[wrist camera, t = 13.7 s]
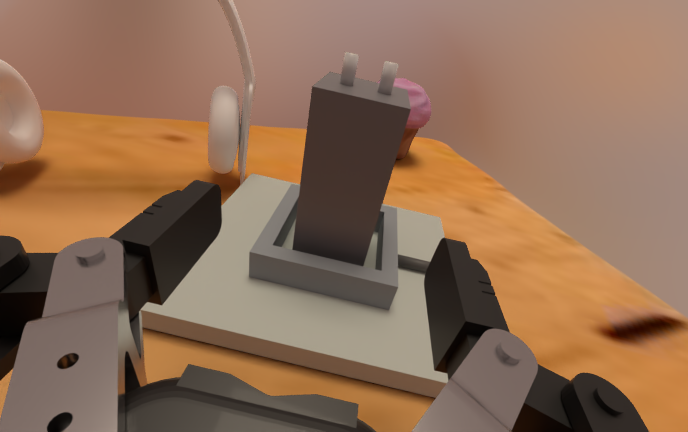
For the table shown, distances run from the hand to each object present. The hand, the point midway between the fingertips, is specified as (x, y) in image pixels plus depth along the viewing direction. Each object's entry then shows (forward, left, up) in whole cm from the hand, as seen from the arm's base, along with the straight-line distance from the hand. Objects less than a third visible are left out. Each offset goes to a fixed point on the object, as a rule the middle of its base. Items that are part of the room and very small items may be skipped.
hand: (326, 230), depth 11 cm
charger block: (-2, +8, -7) cm, 11 cm away
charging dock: (-2, +8, -9) cm, 12 cm away
